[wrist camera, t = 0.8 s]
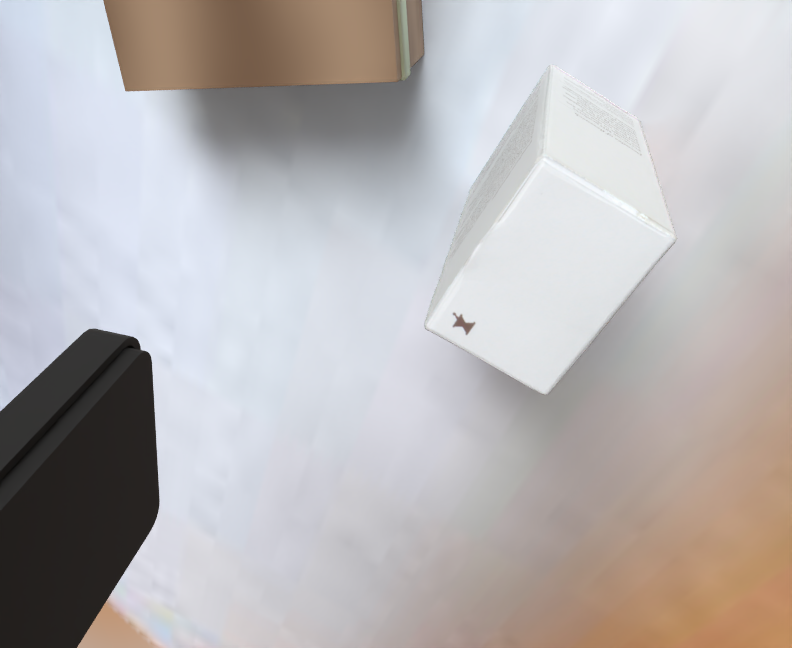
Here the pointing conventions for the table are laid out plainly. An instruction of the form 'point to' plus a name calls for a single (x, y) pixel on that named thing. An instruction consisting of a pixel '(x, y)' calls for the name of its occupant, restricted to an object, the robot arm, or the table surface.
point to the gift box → (263, 42)
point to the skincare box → (552, 235)
